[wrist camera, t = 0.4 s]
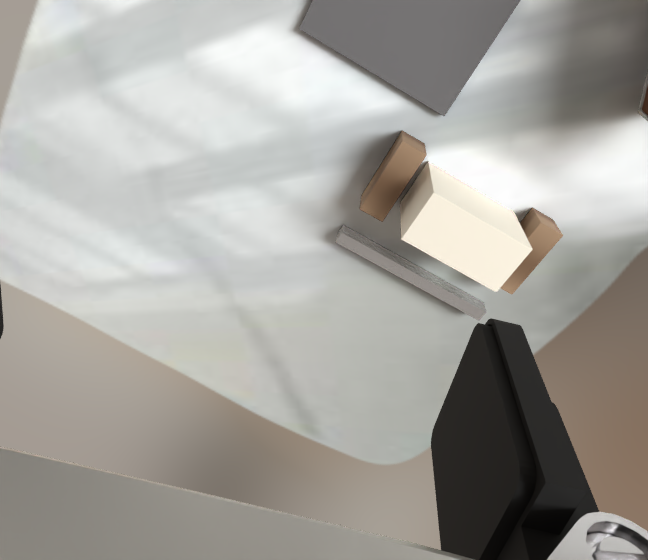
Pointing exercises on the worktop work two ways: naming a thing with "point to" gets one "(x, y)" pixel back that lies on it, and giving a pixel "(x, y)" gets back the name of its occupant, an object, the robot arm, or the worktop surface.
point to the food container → (644, 100)
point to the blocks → (378, 204)
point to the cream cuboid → (462, 227)
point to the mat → (412, 40)
